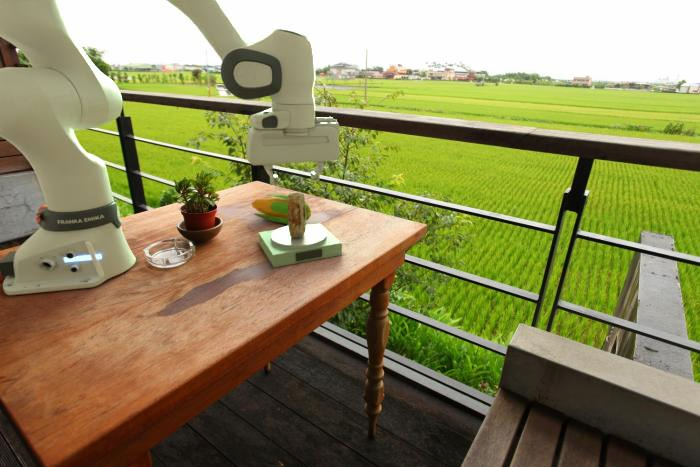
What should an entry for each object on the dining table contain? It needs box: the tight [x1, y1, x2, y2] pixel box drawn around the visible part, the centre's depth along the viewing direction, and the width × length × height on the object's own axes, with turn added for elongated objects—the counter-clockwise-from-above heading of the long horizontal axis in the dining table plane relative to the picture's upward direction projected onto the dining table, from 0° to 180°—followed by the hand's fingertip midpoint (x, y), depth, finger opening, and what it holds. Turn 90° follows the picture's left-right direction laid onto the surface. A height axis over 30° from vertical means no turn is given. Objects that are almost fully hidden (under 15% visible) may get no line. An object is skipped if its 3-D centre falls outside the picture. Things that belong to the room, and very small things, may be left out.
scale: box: [257, 222, 343, 268], centre depth 91 cm, size 16×14×4 cm
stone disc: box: [287, 192, 307, 238], centre depth 89 cm, size 10×4×10 cm, turn 0°
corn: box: [251, 193, 312, 225], centre depth 109 cm, size 7×8×20 cm
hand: (295, 182), depth 86 cm, fingers open, 8 cm apart
